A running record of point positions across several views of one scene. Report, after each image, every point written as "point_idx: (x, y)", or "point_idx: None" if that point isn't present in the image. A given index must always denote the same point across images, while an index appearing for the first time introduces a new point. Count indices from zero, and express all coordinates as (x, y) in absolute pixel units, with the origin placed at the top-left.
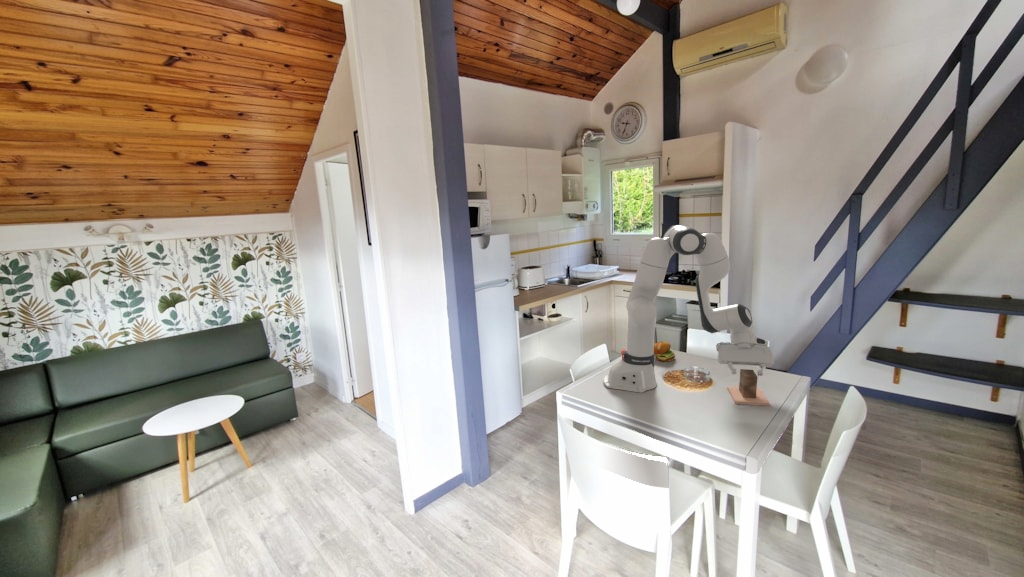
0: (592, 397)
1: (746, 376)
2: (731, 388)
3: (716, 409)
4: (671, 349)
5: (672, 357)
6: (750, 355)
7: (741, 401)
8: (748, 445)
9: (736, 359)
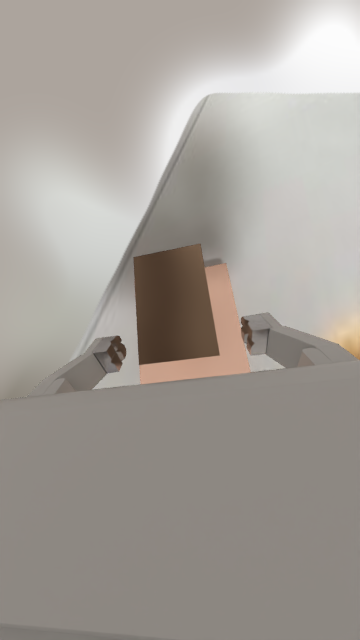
0: None
1: (189, 247)
2: (236, 360)
3: (273, 217)
4: None
5: None
6: (67, 511)
7: (207, 267)
8: (204, 116)
9: (294, 383)
